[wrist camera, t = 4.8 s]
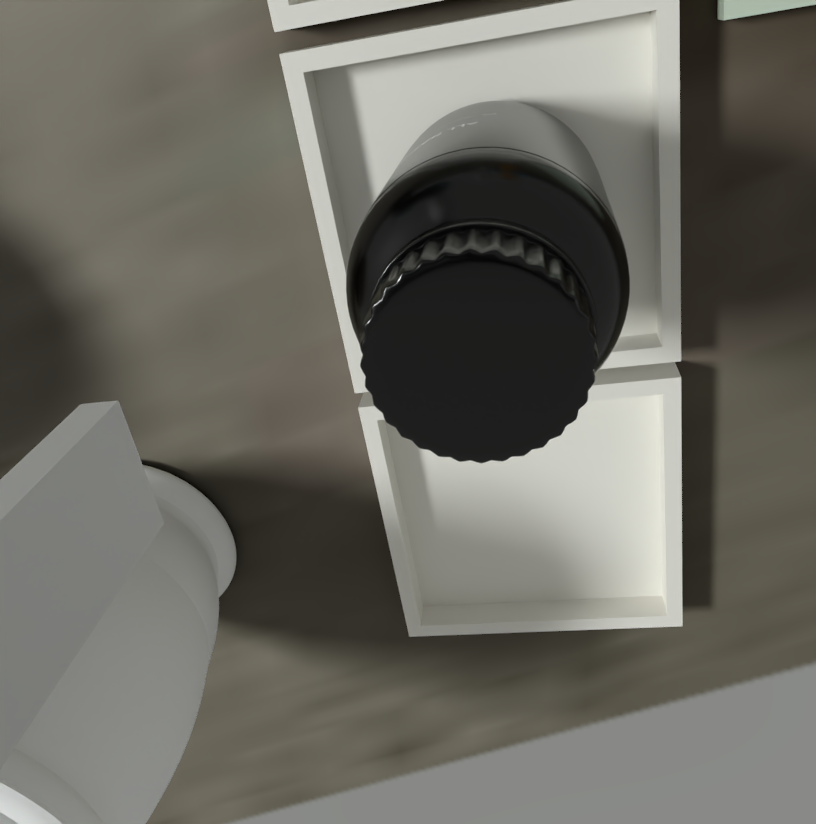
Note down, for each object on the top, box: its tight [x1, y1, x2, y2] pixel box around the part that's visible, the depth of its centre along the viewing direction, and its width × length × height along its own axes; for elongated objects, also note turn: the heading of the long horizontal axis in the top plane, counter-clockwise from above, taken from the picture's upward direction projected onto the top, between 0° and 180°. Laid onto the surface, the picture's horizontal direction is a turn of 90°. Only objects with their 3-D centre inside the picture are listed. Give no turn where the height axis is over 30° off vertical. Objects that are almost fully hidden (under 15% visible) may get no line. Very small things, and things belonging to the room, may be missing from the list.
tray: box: [358, 362, 682, 637], centre depth 31 cm, size 11×11×1 cm
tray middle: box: [279, 0, 681, 393], centre depth 25 cm, size 11×11×1 cm
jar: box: [0, 465, 236, 824], centre depth 28 cm, size 11×10×15 cm
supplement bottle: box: [346, 101, 630, 463], centre depth 21 cm, size 7×7×12 cm
